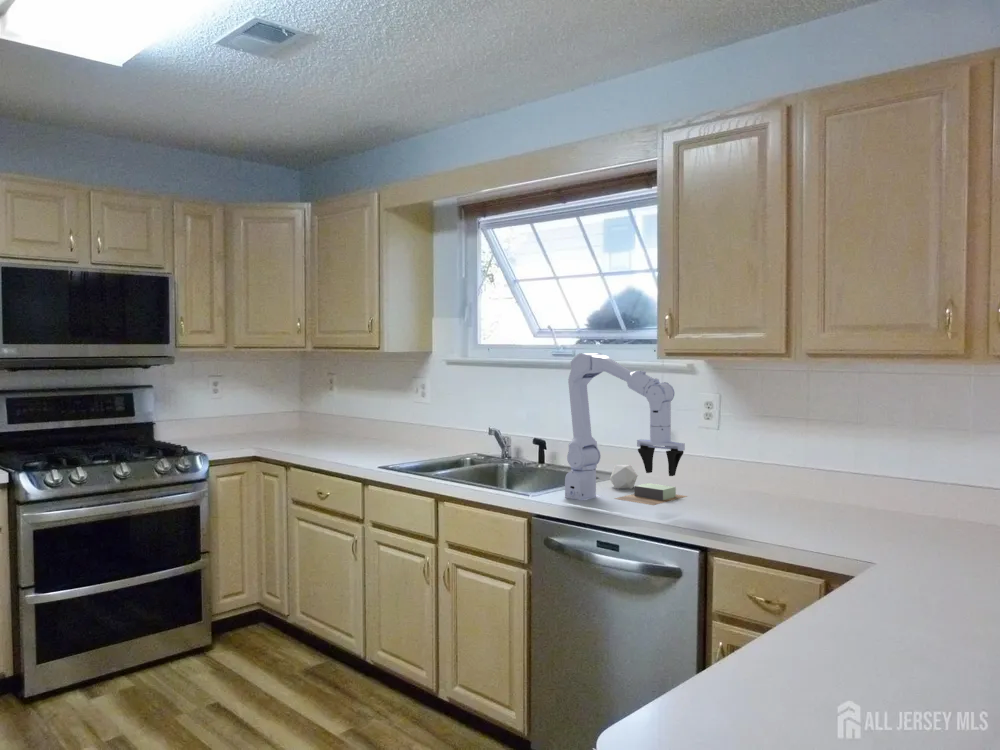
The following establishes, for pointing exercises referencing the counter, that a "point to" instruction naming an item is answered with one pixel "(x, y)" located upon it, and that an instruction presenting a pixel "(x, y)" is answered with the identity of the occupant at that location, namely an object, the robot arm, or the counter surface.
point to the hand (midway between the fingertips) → (660, 474)
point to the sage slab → (655, 491)
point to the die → (623, 477)
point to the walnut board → (647, 499)
